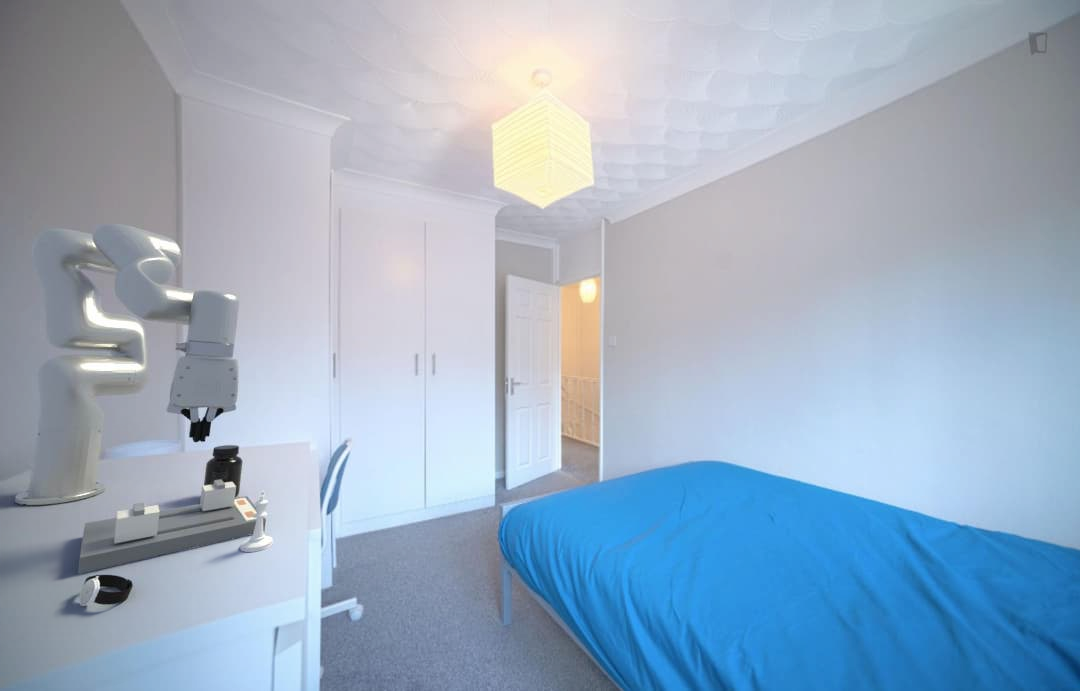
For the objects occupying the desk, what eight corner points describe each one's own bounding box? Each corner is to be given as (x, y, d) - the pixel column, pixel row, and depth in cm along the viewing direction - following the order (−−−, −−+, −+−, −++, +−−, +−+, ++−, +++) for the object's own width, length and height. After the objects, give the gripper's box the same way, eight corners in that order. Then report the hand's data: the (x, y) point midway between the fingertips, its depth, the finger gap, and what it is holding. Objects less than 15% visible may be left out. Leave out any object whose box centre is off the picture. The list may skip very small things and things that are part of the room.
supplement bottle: (246, 494, 95) (251, 445, 95) (220, 504, 88) (226, 451, 89) (221, 491, 96) (226, 442, 96) (193, 500, 89) (200, 448, 89)
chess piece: (237, 554, 68) (243, 497, 69) (243, 541, 72) (249, 488, 73) (270, 549, 70) (276, 494, 71) (274, 538, 75) (280, 486, 75)
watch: (68, 599, 54) (72, 572, 54) (115, 582, 58) (118, 558, 58) (93, 617, 51) (97, 589, 51) (141, 598, 55) (144, 572, 55)
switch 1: (114, 534, 66) (117, 506, 66) (155, 527, 69) (158, 500, 70) (113, 543, 63) (117, 514, 63) (156, 535, 67) (160, 507, 67)
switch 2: (199, 505, 80) (202, 481, 80) (229, 500, 84) (232, 477, 84) (202, 511, 77) (205, 487, 77) (234, 505, 81) (236, 482, 81)
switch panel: (83, 537, 70) (85, 522, 70) (245, 507, 87) (247, 495, 88) (77, 574, 59) (80, 556, 59) (264, 531, 77) (265, 518, 77)
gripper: (160, 348, 71) (147, 448, 70) (258, 354, 82) (248, 440, 81) (157, 347, 76) (145, 440, 75) (250, 353, 87) (240, 434, 86)
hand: (198, 440), depth 78 cm, fingers closed
